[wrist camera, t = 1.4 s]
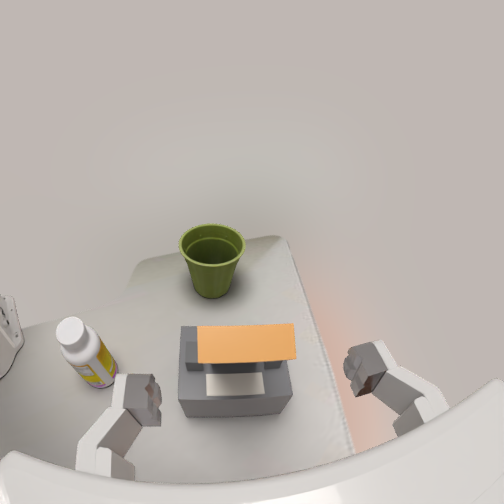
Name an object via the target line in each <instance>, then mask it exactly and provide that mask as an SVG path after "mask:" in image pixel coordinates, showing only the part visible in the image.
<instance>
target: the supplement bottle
mask: <svg viewBox="0 0 504 504" xmlns="http://www.w3.org/2000/svg"><path fill="white" fill-rule="evenodd" d="M56 338H57V340H58V341H59V343H60V348H61V352H62V355H63V356H64V358H65V359H66V360H67V362H68V363H69V364H70V365H71V366H72V367H73V368H74V369H75V370H76V371H77V372H78V373H79V374H80V375H81V376H82V378H83V379H84V380H85V381H87V382H88V383H89V384H90V385H92V386H94V387H97V388H104V387H107V386H109V385H110V384H112V383H113V382H114V380H115V377H116V375H117V373H118V368H117V364H116V362H115V360H114V359H113V357H112V356H111V354H110V353H109V351H108V350H107V348H106V347H105V345H104V344H103V342H102V340H101V339H100V337H99V336H98V334H97V333H96V331H95V330H94V329H93V328H91V327H89V326H87V325H84V323H83V322H82V321H81V320H80V319H79V318H77V317H68V318H65V319H64V320H62V321H61V322H60V323H59V325H58V327H57V329H56Z"/></svg>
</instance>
